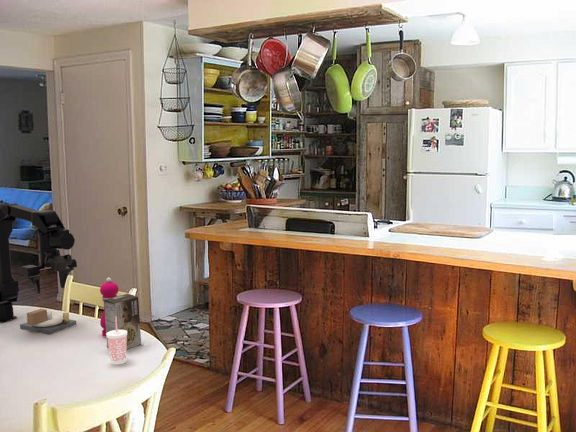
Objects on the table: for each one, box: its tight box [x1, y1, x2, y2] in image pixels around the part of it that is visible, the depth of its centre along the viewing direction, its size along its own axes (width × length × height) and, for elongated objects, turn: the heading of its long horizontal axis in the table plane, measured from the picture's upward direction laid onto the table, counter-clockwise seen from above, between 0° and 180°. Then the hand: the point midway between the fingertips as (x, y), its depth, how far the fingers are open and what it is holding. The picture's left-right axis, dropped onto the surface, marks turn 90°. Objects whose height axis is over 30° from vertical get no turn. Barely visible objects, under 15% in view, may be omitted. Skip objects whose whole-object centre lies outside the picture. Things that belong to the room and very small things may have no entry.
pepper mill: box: [99, 277, 119, 338], centre depth 206 cm, size 7×7×20 cm
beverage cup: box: [105, 316, 128, 365], centre depth 181 cm, size 6×6×14 cm
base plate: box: [19, 318, 77, 335], centre depth 217 cm, size 15×12×2 cm
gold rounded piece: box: [62, 312, 70, 324], centre depth 216 cm, size 2×2×4 cm
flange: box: [26, 308, 63, 327], centre depth 216 cm, size 11×13×5 cm
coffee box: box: [103, 293, 142, 350], centre depth 194 cm, size 9×6×16 cm
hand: (50, 290), depth 212 cm, fingers open, 9 cm apart
